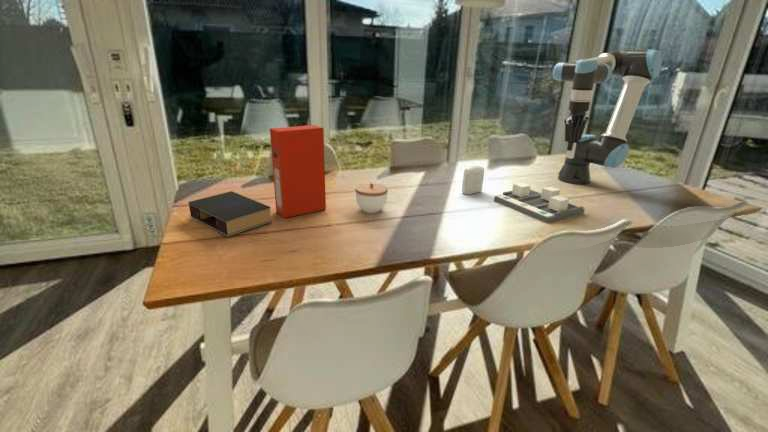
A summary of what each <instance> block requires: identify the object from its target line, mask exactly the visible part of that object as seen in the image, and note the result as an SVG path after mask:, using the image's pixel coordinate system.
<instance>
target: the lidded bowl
mask: <svg viewBox="0 0 768 432" xmlns="http://www.w3.org/2000/svg"><path fill="white" fill-rule="evenodd" d="M354 190H355V200H356V205H358V207H359V208H360V209H361V210H362V211H363V212H364V213H367V214H376V213H379V212H380V211H381V210H382V209H383V208H384V207H385V205H386V202H387V198H388V190H389V189H388V187H387V186H386V185H384V184H381V183H377V182H376V183H374V182H369V183H361V184H358V185H357V186H355V188H354Z"/></svg>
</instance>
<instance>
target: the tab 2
mask: <svg viewBox="0 0 768 432" xmlns="http://www.w3.org/2000/svg"><path fill="white" fill-rule="evenodd" d="M569 201H570V198H566V197H564V196H561V195H559V196H553V197H550V199H549V205H548V208H549V209H552V210H555V211H557V212H560V211H564V210H567V206H568V203H569Z"/></svg>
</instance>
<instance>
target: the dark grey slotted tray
mask: <svg viewBox="0 0 768 432" xmlns="http://www.w3.org/2000/svg"><path fill="white" fill-rule="evenodd" d="M541 194H542V192H538V191H535V190H533V189H530V192H529V196H525V197H518V196H516V195H513V194H512V190H508V191H503V193H502V194H499V195H495V196H494V197H493V201H494V202H496V203H499V204H501V205H503V206H506V207H508V208H511V209H513V210H516V211H518V212H521V214H525V215H526V216H529V217H532V218H534V219H537V220H539V221H541V222H543V223H547V224H549V223H553V222H557V221H558V222H559V221H561V220H565V219H568V218H571V217H572V218H573V217H576V216H580V215H583V214H584V213H585V209H586V208H584V206H577V205H576V204H575V205H574V204H572V203H569V202H568V206H567V210H564V211H560V212H557V211H555V210H552V209H549V208H548V205H549V201H547V200H544V199H542V198H541Z"/></svg>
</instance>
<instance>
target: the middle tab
mask: <svg viewBox="0 0 768 432" xmlns="http://www.w3.org/2000/svg"><path fill="white" fill-rule="evenodd" d="M560 194H561V189H559V188H556V187H554V186H547V187H542V189H541V198H542V199H544V200H547V201H549V199H550V197H553V196H560Z"/></svg>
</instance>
